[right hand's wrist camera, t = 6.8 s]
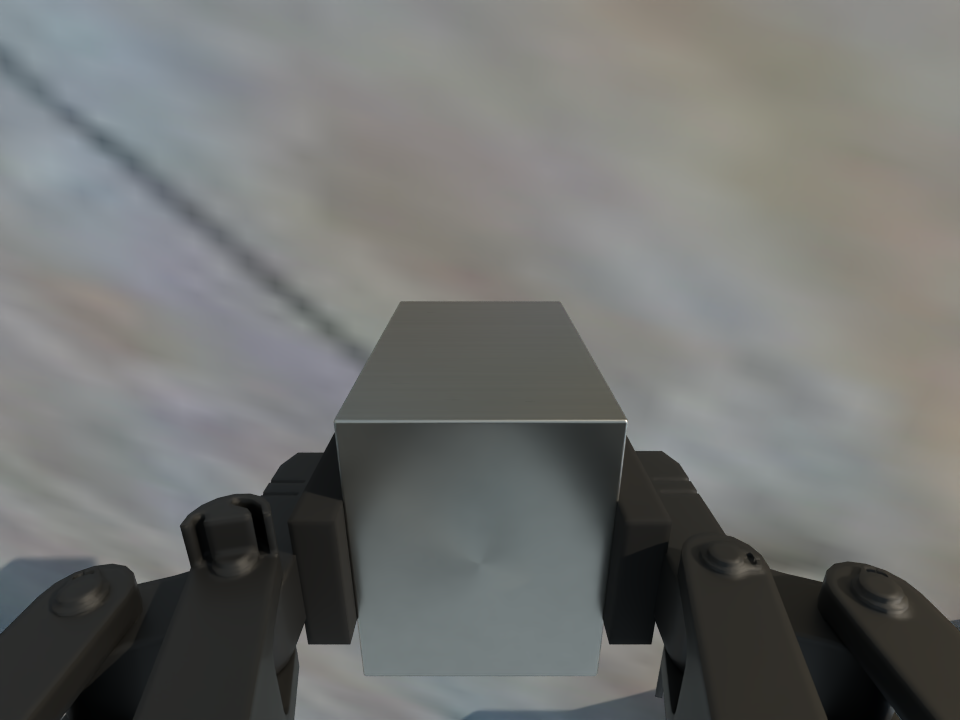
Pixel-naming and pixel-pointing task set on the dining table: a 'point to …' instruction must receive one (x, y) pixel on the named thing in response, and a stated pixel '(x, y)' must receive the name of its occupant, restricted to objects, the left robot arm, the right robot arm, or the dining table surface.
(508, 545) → the block
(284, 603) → the right robot arm
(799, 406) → the dining table surface
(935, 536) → the dining table surface
